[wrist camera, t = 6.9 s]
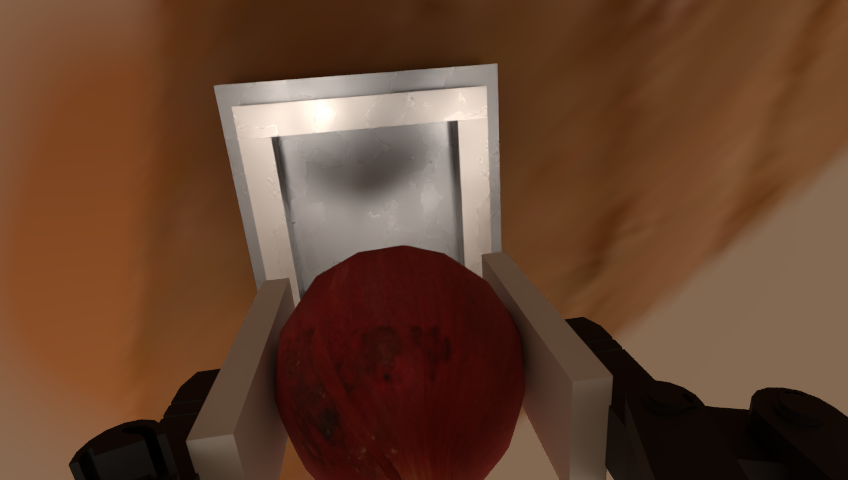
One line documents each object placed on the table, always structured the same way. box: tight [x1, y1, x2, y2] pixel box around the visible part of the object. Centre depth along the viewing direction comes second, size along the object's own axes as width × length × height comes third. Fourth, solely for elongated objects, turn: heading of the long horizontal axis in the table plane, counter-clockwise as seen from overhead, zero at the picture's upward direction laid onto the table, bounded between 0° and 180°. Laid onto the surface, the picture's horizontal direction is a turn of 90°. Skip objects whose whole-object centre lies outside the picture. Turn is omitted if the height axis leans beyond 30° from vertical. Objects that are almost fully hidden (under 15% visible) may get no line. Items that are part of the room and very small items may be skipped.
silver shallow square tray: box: [214, 64, 501, 308], centre depth 26 cm, size 14×14×4 cm
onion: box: [275, 245, 525, 480], centre depth 11 cm, size 6×6×8 cm
